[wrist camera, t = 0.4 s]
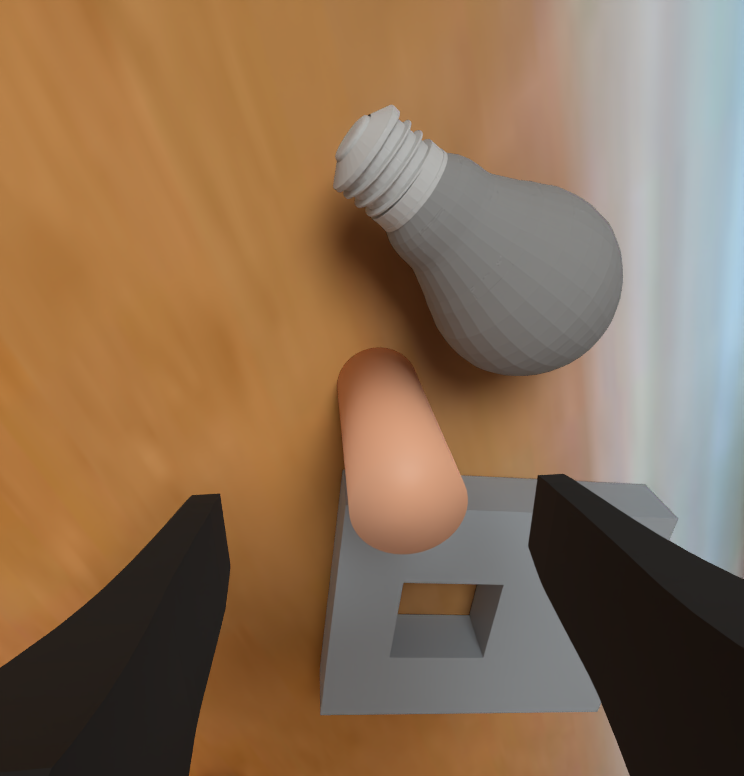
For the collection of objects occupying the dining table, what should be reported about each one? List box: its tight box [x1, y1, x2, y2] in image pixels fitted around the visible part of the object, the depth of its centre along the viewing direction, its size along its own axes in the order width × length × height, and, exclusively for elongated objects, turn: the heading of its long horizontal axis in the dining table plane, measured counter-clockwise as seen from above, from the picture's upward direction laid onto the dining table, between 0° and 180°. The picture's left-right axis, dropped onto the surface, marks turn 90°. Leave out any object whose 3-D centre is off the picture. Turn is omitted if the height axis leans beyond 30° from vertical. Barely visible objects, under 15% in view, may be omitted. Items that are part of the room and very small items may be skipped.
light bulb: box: [333, 105, 623, 376], centre depth 17 cm, size 6×6×10 cm
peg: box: [337, 348, 468, 554], centre depth 18 cm, size 3×3×8 cm
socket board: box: [320, 470, 678, 715], centre depth 26 cm, size 14×12×2 cm
